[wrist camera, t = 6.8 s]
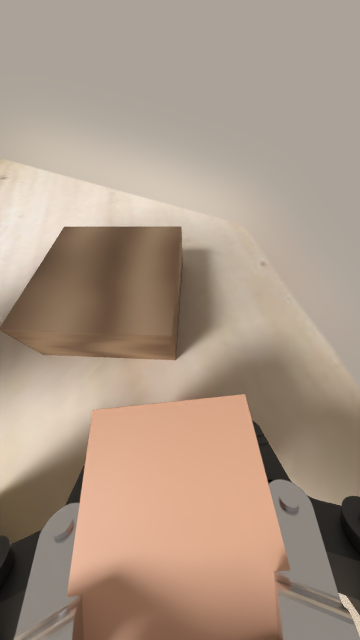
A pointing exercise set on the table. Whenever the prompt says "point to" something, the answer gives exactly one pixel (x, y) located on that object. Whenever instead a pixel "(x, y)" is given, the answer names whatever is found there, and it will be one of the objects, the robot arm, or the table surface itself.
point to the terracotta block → (176, 525)
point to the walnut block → (104, 295)
